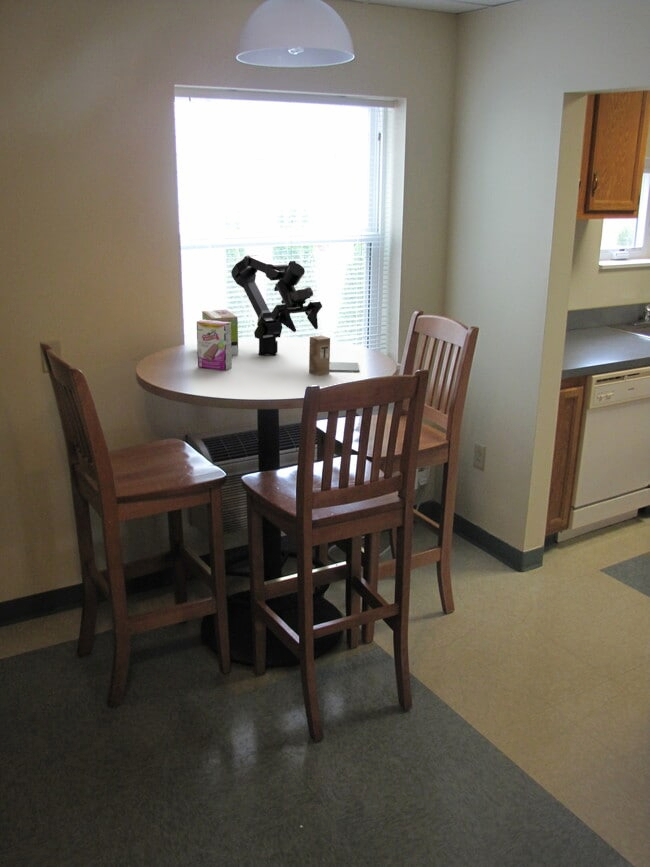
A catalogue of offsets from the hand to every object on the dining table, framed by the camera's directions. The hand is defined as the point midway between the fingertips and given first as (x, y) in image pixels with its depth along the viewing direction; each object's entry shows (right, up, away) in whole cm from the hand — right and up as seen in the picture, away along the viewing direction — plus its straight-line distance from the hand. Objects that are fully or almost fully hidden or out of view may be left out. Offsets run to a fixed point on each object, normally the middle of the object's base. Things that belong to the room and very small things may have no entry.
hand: (306, 330), depth 265 cm
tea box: (-33, -5, +25) cm, 42 cm away
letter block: (+4, -15, -2) cm, 16 cm away
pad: (+13, -13, +6) cm, 19 cm away
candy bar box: (-32, -13, +2) cm, 35 cm away
